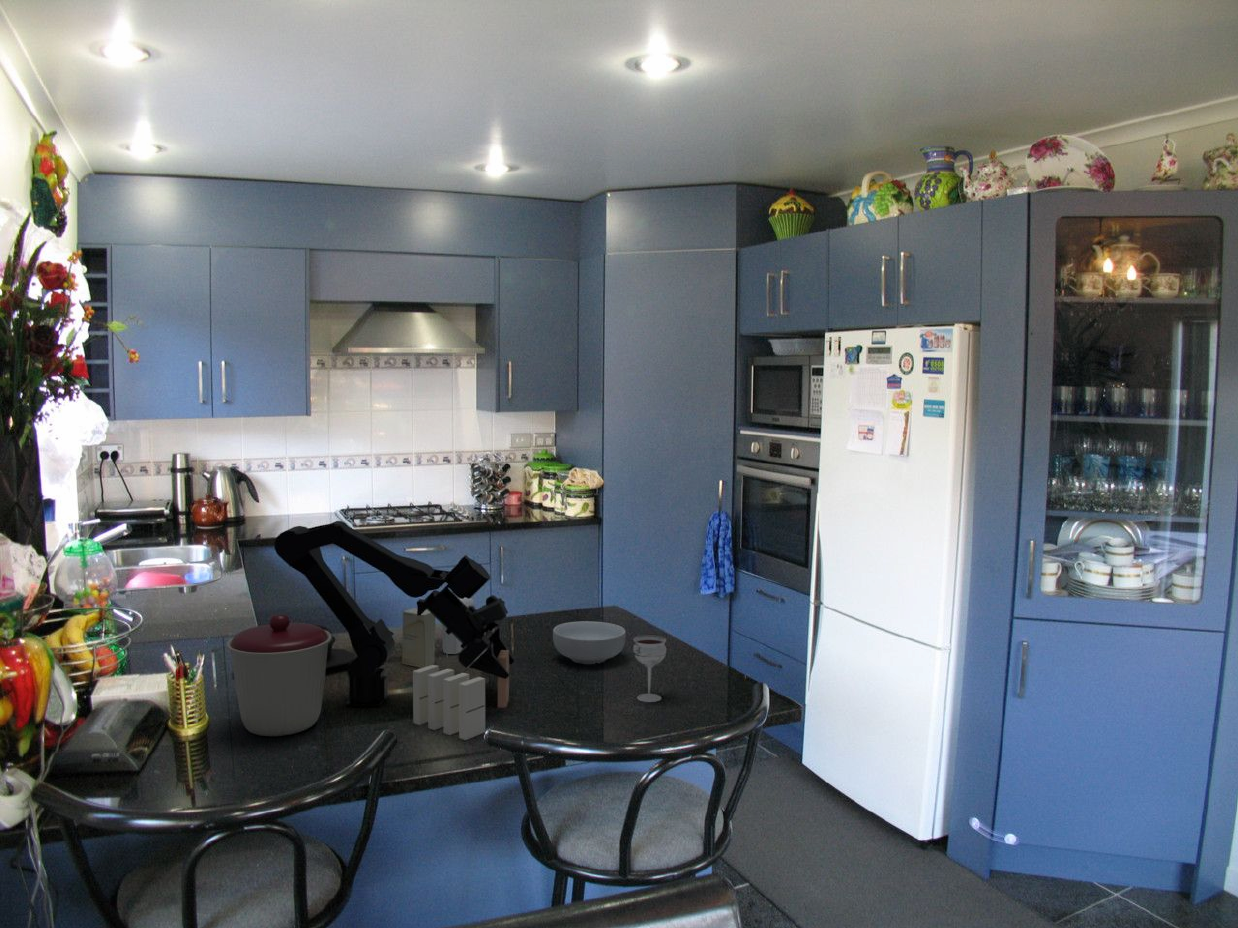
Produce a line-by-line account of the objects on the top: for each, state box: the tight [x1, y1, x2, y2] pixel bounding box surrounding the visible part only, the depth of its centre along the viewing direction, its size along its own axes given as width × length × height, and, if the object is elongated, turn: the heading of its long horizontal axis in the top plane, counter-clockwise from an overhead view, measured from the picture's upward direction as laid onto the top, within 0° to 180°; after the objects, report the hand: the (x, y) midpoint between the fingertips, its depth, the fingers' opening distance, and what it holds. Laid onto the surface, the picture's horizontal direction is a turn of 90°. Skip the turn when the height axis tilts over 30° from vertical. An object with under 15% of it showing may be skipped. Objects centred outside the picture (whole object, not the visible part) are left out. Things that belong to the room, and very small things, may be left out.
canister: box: [225, 613, 333, 737], centre depth 174 cm, size 18×18×21 cm
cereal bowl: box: [552, 620, 627, 665], centre depth 219 cm, size 17×17×7 cm
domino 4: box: [458, 676, 486, 741], centre depth 172 cm, size 2×5×10 cm, turn 144°
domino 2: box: [427, 668, 455, 731], centre depth 176 cm, size 2×5×10 cm, turn 144°
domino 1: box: [412, 664, 440, 726], centre depth 179 cm, size 2×5×10 cm, turn 144°
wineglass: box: [632, 634, 667, 703], centre depth 193 cm, size 7×7×12 cm
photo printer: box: [442, 597, 476, 655], centre depth 225 cm, size 10×4×12 cm, turn 160°
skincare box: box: [401, 607, 436, 669], centre depth 213 cm, size 6×4×12 cm
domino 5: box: [497, 649, 510, 708], centre depth 189 cm, size 2×5×10 cm, turn 0°
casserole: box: [314, 624, 355, 670], centre depth 209 cm, size 25×19×8 cm
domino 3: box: [442, 672, 470, 736], centre depth 174 cm, size 2×5×10 cm, turn 144°
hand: (510, 669), depth 189 cm, fingers open, 9 cm apart
